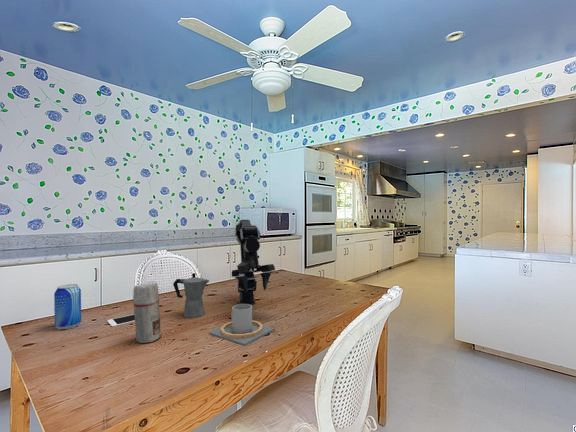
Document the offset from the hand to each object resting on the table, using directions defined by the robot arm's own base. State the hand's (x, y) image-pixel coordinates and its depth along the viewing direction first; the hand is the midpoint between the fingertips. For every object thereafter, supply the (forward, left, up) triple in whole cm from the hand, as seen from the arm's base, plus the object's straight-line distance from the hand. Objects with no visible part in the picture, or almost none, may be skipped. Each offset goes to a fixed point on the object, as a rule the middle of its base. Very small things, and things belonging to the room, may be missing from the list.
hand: (255, 291), depth 127 cm
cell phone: (-41, -30, -11) cm, 52 cm away
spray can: (-16, -38, -11) cm, 43 cm away
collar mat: (+7, -15, -11) cm, 20 cm away
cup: (+6, -16, -10) cm, 20 cm away
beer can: (-54, -49, -11) cm, 74 cm away
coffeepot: (-25, -13, -11) cm, 31 cm away
